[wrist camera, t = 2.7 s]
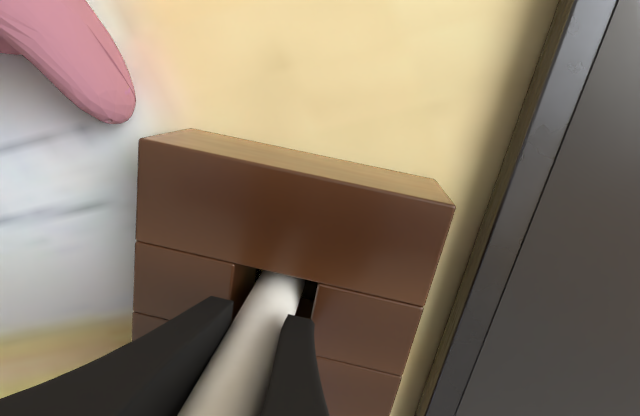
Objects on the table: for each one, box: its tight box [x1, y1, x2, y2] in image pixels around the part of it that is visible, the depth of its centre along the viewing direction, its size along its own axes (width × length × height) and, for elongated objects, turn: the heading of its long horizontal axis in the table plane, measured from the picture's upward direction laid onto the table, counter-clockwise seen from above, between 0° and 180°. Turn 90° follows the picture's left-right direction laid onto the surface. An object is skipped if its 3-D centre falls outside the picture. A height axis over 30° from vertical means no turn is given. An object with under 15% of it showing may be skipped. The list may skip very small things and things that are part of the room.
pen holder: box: [132, 128, 456, 416], centre depth 13 cm, size 14×8×3 cm, turn 170°
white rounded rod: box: [177, 270, 305, 416], centre depth 9 cm, size 2×2×8 cm
